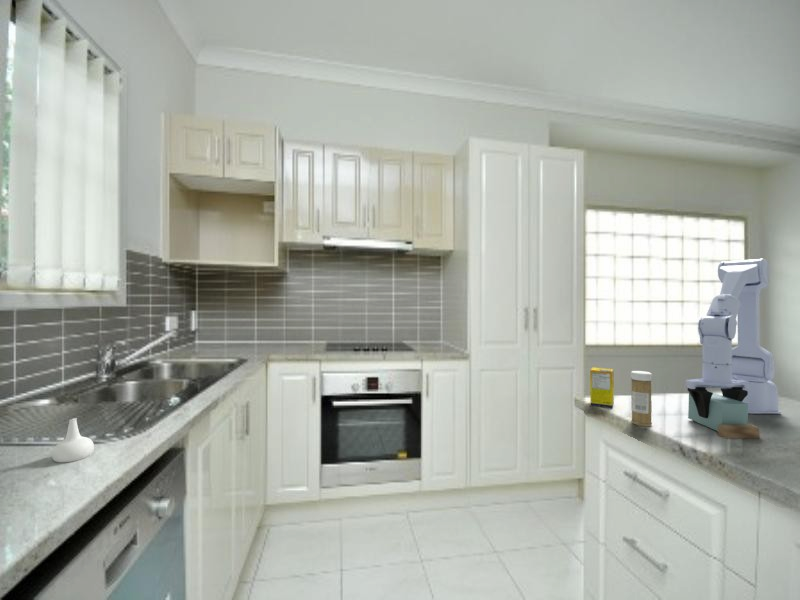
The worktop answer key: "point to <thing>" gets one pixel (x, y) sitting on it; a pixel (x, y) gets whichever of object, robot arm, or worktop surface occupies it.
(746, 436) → the strip
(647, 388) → the sprinkles bottle
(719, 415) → the pale mint block
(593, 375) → the supplement box
